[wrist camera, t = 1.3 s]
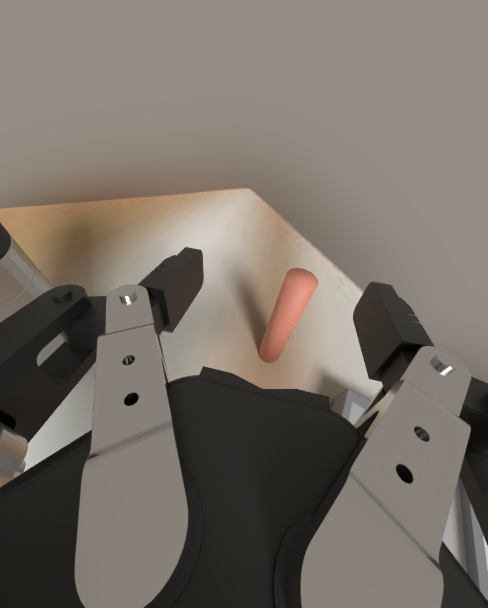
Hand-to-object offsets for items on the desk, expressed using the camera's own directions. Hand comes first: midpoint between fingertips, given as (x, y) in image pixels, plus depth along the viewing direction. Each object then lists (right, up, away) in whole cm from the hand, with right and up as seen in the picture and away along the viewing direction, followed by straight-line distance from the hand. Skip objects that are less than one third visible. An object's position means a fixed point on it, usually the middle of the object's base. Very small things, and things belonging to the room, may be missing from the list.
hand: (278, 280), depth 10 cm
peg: (+2, -9, +23) cm, 24 cm away
